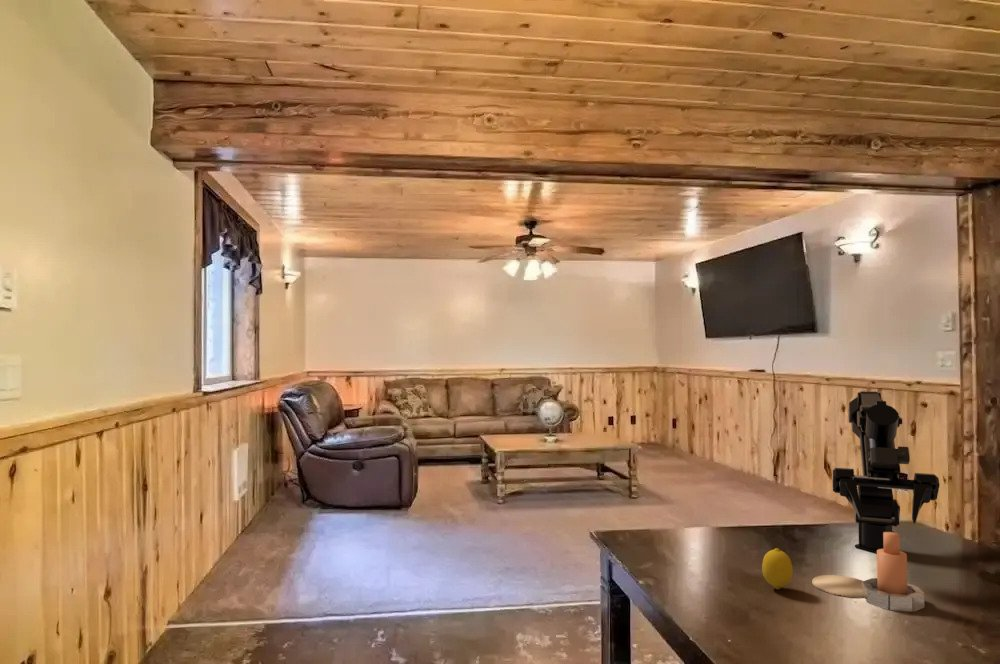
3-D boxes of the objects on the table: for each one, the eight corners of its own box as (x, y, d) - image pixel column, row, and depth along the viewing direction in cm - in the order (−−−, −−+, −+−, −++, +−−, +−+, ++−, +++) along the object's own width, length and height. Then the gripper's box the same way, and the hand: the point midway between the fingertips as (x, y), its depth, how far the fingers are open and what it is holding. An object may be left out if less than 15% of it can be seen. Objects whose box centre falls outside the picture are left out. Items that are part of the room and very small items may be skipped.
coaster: (800, 583, 131) (800, 581, 131) (833, 573, 137) (833, 571, 137) (853, 601, 122) (853, 599, 122) (886, 590, 128) (886, 588, 128)
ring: (853, 597, 124) (853, 584, 124) (881, 588, 129) (881, 575, 129) (905, 615, 116) (904, 601, 116) (932, 604, 121) (932, 590, 121)
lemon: (791, 585, 130) (790, 545, 130) (794, 596, 125) (793, 554, 125) (761, 582, 132) (761, 542, 132) (763, 592, 127) (762, 551, 127)
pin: (872, 599, 123) (871, 532, 123) (886, 594, 126) (885, 528, 126) (898, 608, 119) (897, 539, 119) (912, 602, 121) (911, 535, 122)
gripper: (831, 429, 139) (834, 492, 128) (936, 433, 131) (948, 501, 120) (831, 460, 145) (834, 523, 135) (931, 466, 137) (941, 533, 127)
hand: (887, 519), depth 129 cm, fingers open, 9 cm apart
